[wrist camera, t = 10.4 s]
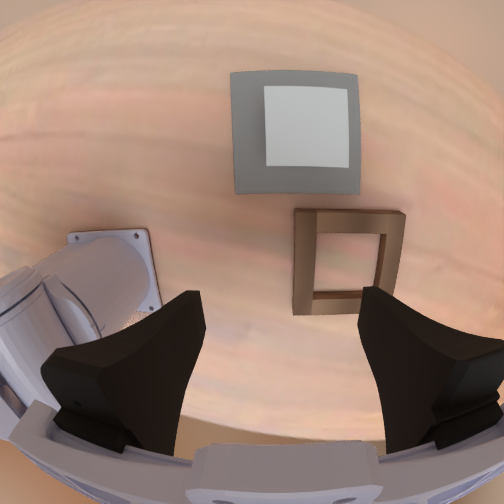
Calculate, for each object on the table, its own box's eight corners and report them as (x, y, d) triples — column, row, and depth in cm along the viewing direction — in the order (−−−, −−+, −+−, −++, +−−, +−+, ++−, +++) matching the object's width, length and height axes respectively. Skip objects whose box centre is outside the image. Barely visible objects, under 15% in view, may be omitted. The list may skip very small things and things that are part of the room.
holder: (292, 307, 23) (293, 315, 22) (294, 208, 20) (295, 212, 19) (384, 304, 22) (388, 311, 21) (399, 211, 19) (405, 215, 18)
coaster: (236, 192, 20) (235, 194, 19) (231, 74, 16) (230, 72, 16) (357, 193, 19) (359, 194, 18) (355, 76, 16) (357, 74, 15)
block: (269, 160, 18) (266, 166, 13) (267, 105, 17) (264, 86, 11) (326, 161, 18) (348, 167, 12) (325, 106, 16) (347, 89, 11)
